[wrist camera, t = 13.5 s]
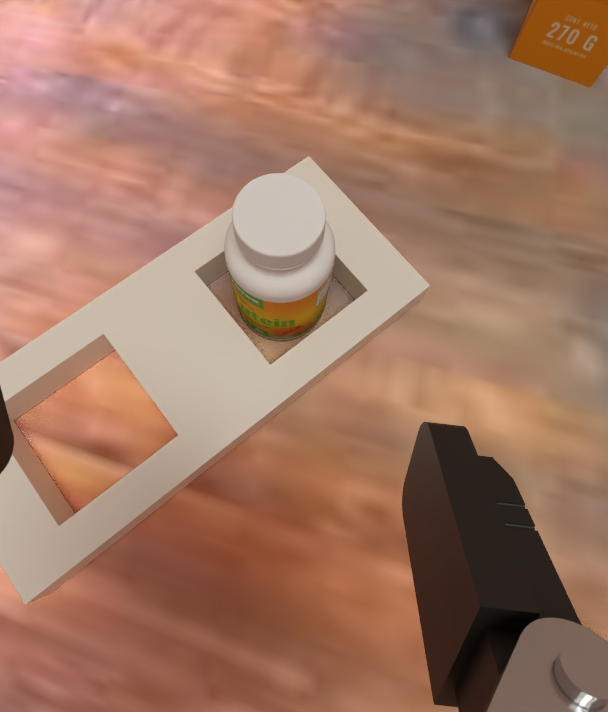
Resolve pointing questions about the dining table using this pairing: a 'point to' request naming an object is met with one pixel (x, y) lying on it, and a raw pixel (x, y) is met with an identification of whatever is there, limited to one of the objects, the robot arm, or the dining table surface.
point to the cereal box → (565, 38)
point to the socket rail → (179, 381)
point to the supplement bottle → (280, 255)
